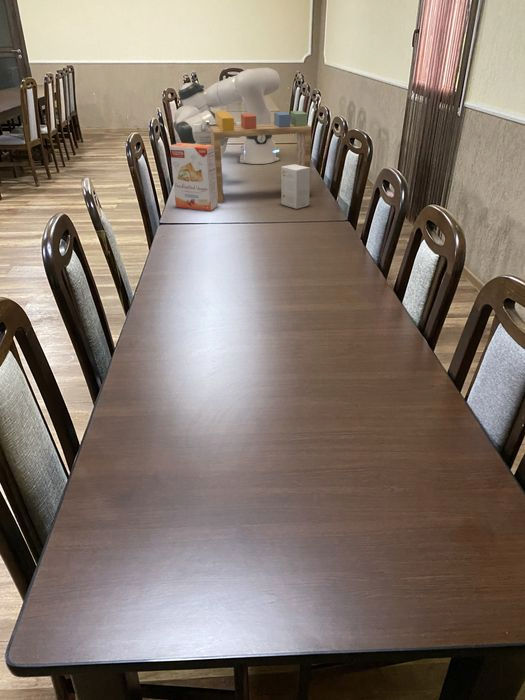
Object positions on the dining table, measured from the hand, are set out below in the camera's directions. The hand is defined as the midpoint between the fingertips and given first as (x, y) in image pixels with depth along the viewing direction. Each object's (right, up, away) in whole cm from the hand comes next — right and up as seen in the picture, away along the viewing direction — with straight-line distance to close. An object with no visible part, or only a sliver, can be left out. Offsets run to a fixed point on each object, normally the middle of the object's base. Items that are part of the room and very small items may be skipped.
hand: (219, 122), depth 198 cm
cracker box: (-7, -34, -10) cm, 37 cm away
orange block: (+2, -5, -8) cm, 10 cm away
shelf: (+15, -26, +2) cm, 31 cm away
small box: (+27, -33, -10) cm, 44 cm away
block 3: (+29, -4, -8) cm, 30 cm away
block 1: (+11, -6, -11) cm, 16 cm away
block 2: (+23, -5, -9) cm, 25 cm away
